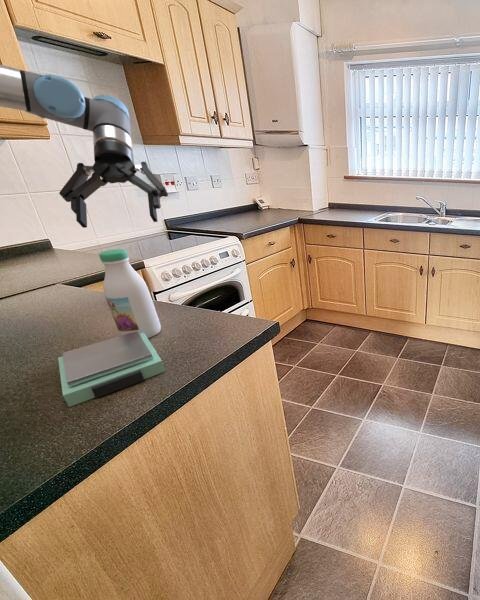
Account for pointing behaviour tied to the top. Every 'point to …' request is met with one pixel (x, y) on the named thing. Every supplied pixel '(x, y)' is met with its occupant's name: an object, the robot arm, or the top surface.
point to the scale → (110, 378)
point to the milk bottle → (128, 295)
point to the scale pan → (104, 357)
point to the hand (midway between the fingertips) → (119, 221)
